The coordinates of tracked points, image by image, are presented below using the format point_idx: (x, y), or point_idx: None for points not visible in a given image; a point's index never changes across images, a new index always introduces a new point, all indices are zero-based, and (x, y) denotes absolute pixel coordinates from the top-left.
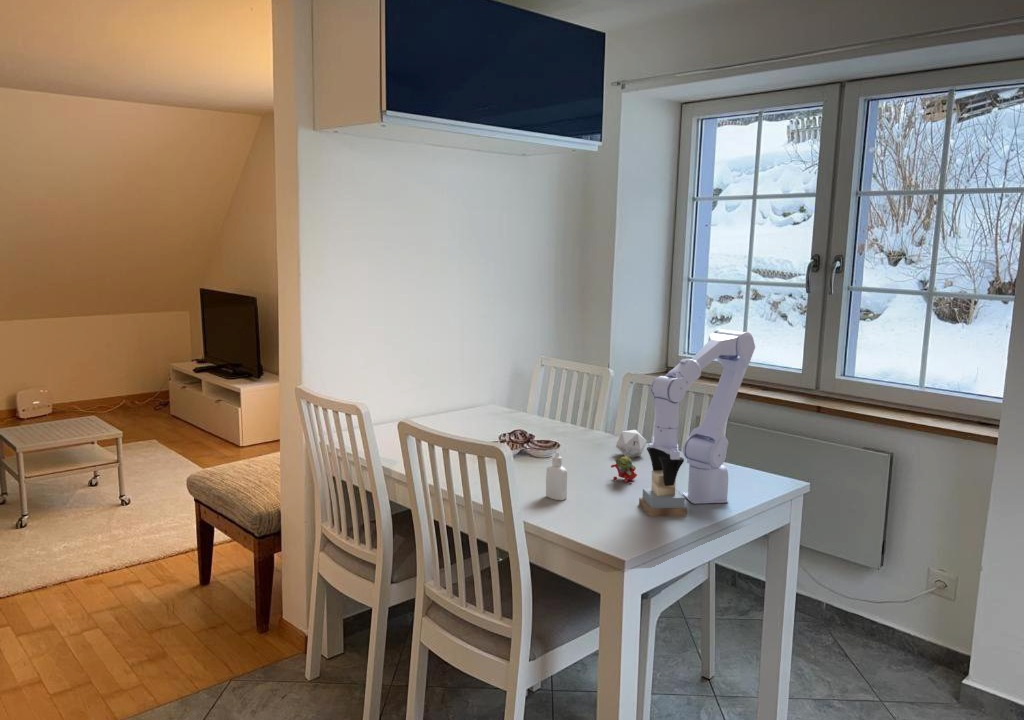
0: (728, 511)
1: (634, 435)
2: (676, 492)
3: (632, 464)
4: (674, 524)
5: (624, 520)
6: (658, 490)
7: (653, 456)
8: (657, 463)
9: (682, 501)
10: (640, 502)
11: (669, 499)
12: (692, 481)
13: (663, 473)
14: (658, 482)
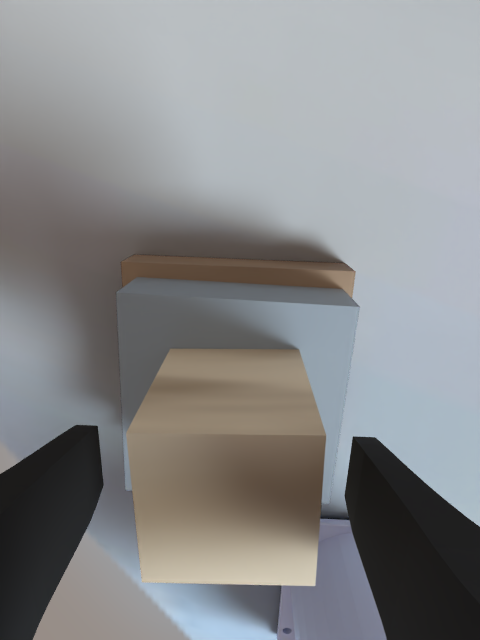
0: (180, 600)
1: None
2: None
3: None
4: (17, 335)
5: (77, 68)
6: (162, 368)
7: (458, 612)
8: (399, 558)
9: None
10: (323, 266)
11: (125, 400)
12: (360, 626)
13: (15, 486)
14: (145, 398)
